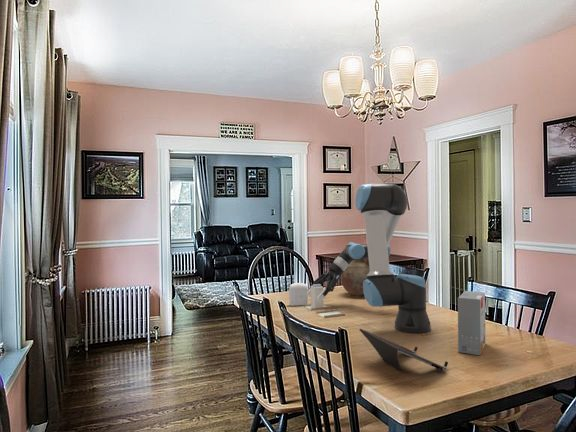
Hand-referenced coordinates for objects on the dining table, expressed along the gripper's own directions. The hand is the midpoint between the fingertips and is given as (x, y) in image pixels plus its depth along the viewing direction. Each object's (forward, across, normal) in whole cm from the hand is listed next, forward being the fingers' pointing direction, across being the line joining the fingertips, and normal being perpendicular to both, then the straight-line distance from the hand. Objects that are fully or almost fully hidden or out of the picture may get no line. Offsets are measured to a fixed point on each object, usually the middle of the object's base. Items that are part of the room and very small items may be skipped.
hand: (313, 297), depth 214 cm
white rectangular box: (+2, 0, -5) cm, 6 cm away
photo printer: (+7, +14, -3) cm, 16 cm away
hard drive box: (-16, -78, -26) cm, 84 cm away
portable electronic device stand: (+7, -82, -3) cm, 82 cm away
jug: (-24, +22, -33) cm, 46 cm away
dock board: (+3, -8, -6) cm, 11 cm away
